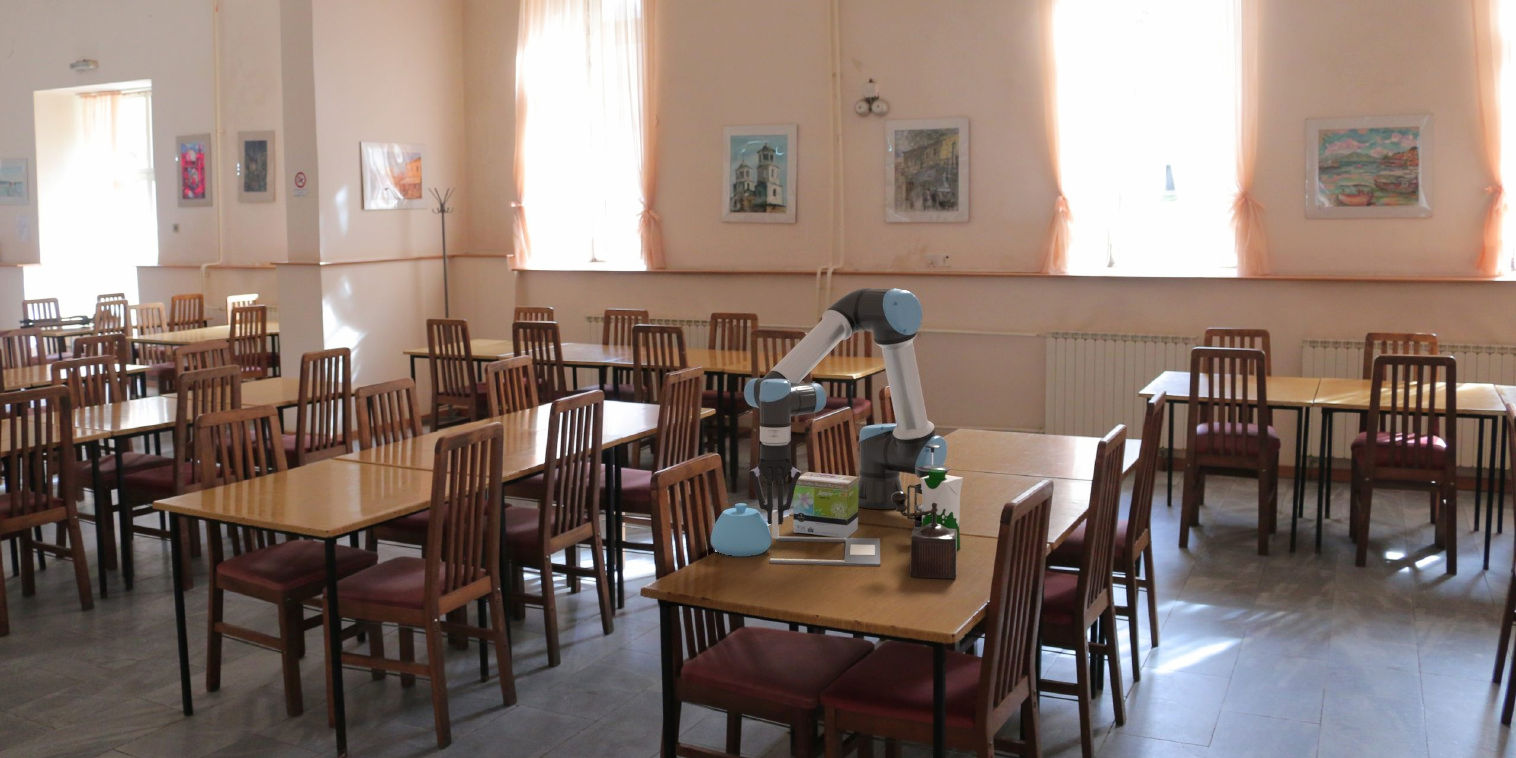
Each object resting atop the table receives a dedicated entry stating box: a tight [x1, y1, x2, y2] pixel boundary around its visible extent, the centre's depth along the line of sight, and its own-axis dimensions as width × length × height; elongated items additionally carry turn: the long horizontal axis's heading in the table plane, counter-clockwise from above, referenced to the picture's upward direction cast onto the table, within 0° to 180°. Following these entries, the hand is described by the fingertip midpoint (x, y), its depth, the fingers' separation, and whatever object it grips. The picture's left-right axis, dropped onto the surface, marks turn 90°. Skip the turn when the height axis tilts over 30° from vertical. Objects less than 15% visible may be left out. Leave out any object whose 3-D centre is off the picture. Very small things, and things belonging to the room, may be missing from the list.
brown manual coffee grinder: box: [891, 491, 958, 581], centre depth 267 cm, size 16×11×18 cm
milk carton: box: [919, 469, 964, 550], centre depth 286 cm, size 9×9×20 cm
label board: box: [769, 535, 881, 567], centre depth 285 cm, size 23×26×1 cm
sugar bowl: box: [710, 502, 772, 557], centre depth 287 cm, size 15×15×12 cm
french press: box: [906, 444, 951, 528], centre depth 303 cm, size 12×9×23 cm
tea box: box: [792, 471, 859, 538], centre depth 303 cm, size 15×10×15 cm
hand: (775, 536), depth 286 cm, fingers closed
